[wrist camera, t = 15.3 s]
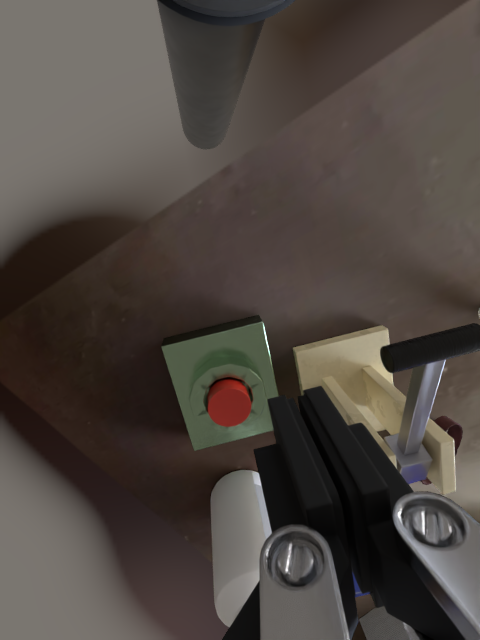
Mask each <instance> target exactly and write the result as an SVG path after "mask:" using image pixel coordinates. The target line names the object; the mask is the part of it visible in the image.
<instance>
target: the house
mask: <svg viewBox="0 0 480 640" xmlns="http://www.w3.org/2000/svg"><path fill="white" fill-rule="evenodd" d="M359 621H360V623H361V626H362V628H363V631H364V633H365V636H366V639H367V640H411V639H410V637H409V636H408V634H407V631H406V629H405V627H404V625H403V622H402V621H400V620H398V619H397V618H395V617H393V616H392V615H390V614H388V613H387V611H386V609H385V607H384V606H383V607H379V608H374V609H373V610H371V611H370V612H369V613H367V614H366V615H365V616H363V617H362V618H360V619H359Z"/></svg>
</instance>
